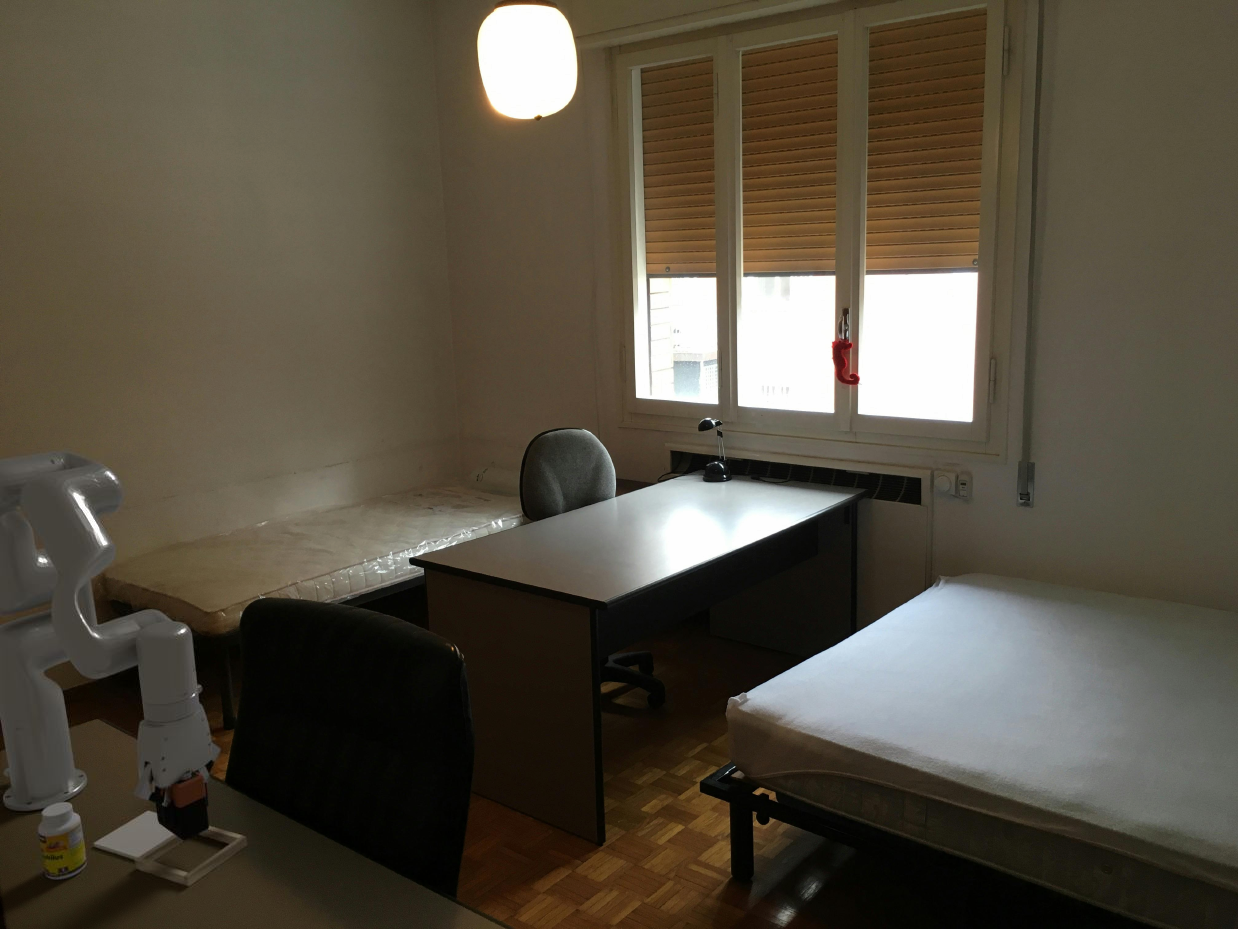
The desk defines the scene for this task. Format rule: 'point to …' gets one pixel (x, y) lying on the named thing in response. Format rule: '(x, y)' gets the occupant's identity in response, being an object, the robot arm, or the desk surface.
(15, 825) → the desk surface
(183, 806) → the battery
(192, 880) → the holder frame
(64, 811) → the supplement bottle
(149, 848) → the ceramic pad
